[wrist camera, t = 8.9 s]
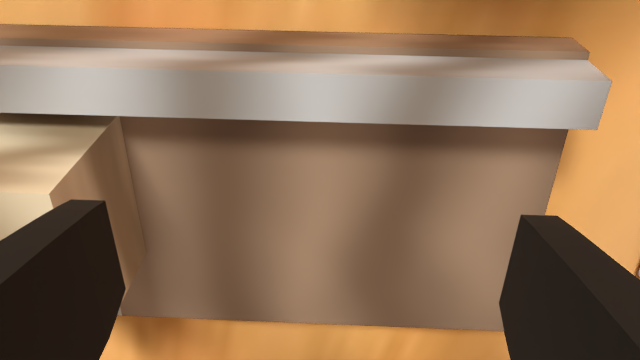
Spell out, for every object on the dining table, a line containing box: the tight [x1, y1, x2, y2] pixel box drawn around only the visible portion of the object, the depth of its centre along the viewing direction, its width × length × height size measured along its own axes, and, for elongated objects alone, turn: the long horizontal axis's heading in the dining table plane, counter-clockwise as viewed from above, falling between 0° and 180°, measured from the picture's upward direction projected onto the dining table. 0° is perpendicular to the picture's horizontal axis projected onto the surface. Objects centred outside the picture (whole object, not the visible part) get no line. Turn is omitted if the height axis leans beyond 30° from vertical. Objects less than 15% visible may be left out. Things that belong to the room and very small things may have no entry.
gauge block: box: [0, 113, 146, 303], centre depth 18 cm, size 4×8×5 cm, turn 179°
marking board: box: [0, 24, 612, 331], centre depth 20 cm, size 22×12×3 cm, turn 89°
